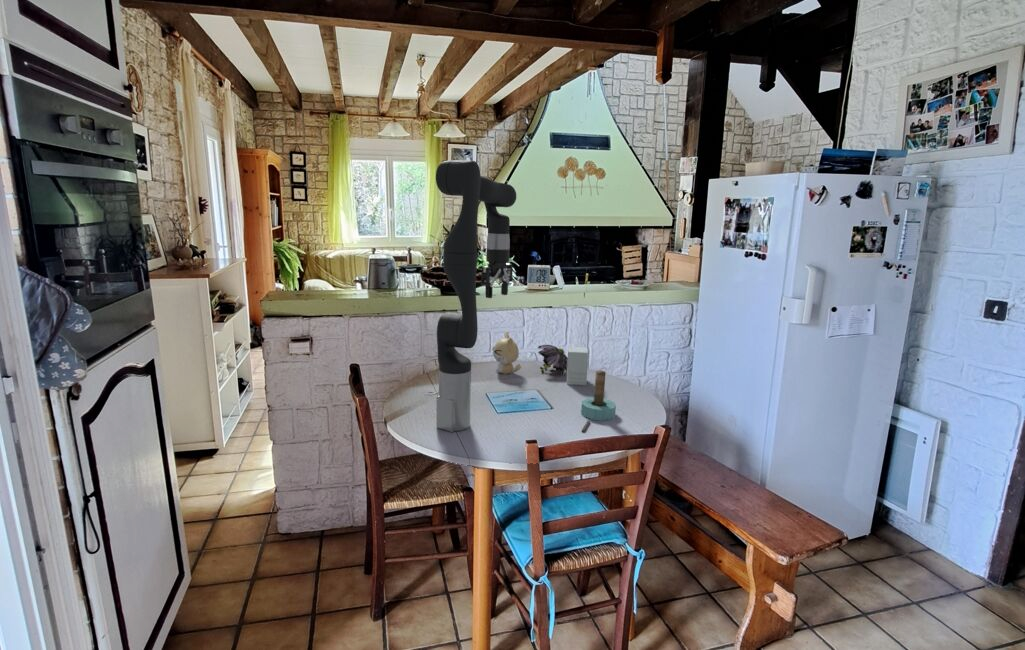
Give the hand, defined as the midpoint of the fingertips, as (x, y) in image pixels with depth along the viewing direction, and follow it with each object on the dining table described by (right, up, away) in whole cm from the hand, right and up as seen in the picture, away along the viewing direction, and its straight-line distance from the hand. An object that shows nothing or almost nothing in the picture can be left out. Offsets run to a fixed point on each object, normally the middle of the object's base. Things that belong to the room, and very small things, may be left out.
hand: (496, 296), depth 186 cm
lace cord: (+27, -40, -19) cm, 52 cm away
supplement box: (+29, -31, +23) cm, 48 cm away
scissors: (-16, -33, +8) cm, 38 cm away
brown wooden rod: (+32, -38, -8) cm, 51 cm away
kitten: (+2, -28, +32) cm, 43 cm away
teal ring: (+32, -38, -8) cm, 51 cm away
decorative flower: (+21, -28, +34) cm, 49 cm away
